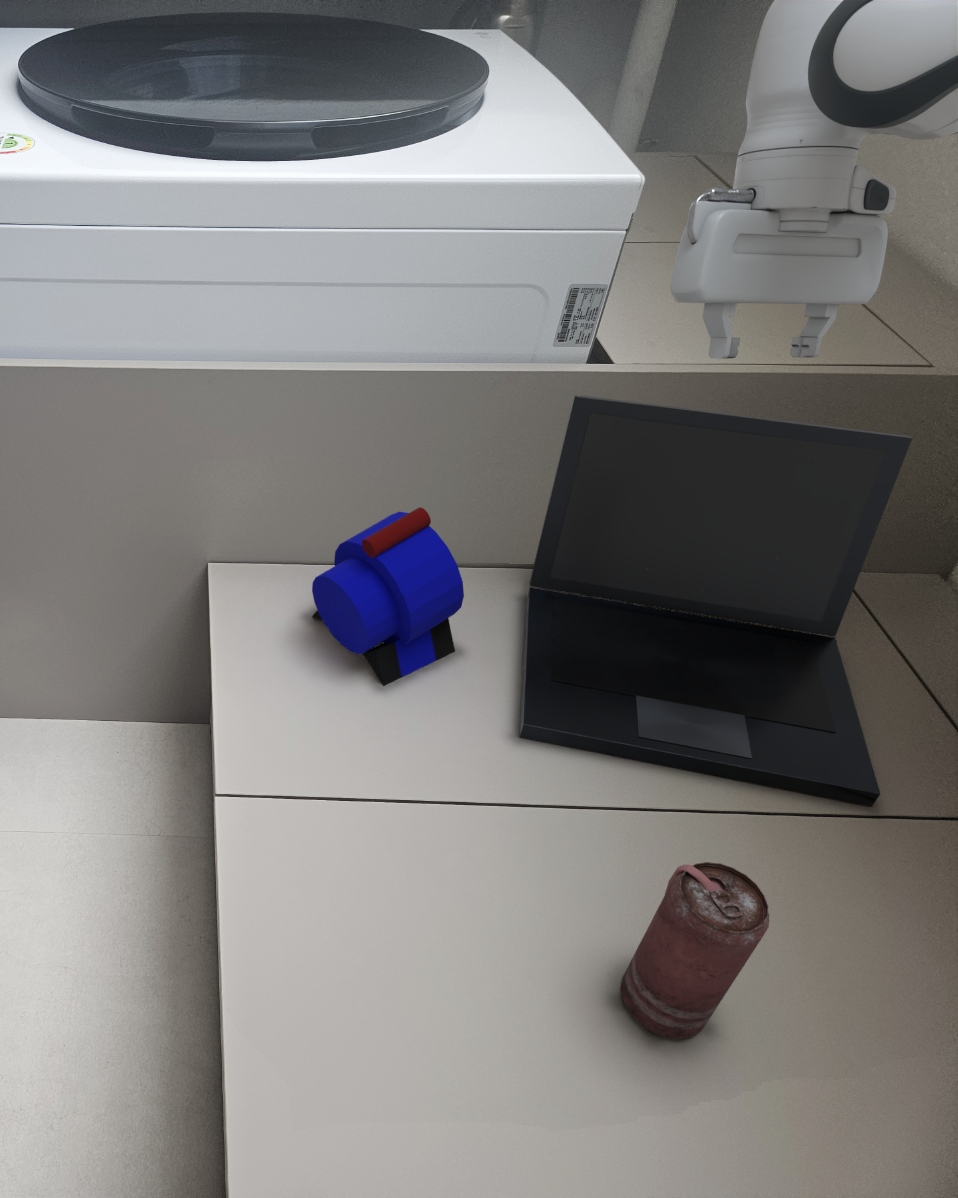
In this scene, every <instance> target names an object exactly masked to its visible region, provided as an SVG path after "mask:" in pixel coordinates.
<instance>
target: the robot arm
mask: <svg viewBox="0 0 958 1198" xmlns="http://www.w3.org/2000/svg"><path fill="white" fill-rule="evenodd" d="M745 109H746V116H747V123H746V124H747V125H746V131H745V135H744V138H743V141H742V143H741V145H740V147H739V149H738V153H737V159H736V164H735V165H736V166H735V172H734V179H733V185H732V188H723V187H709V188H707V189H706V190H705V191H704V192H703V193H701V194H700V195H698V197H696V199H694V201H693V202H692V203H691V204H690V206H689V209H688V214H687V222H686V225H685V227H684V229H683V232H682V234H681V238H680V241H679V244H678V249H677V252H676V256H675V260H674V264H673V268H672V273H671V279H670V284H669V285H670V286H669V290H670V293H671V296H672V297H673V299H674V301H675V303H681V304H683V303H684V304H703V311H702V319H703V322H704V325H705V328H706V331H707V334H708V336H709V339H710V341H709V348H708V357H710V359H718V360H719V359H720V360H721V359H724V360H725V359H726V360H727V359H728V360H729V359H735V358H737V357H738V354H739V349H738V348H739V346H740V341H741V337H734V334H733V330H732V329H733V328H732V326H731V320H730V318H734V317H735V316H736V311H737V304H772V305H774V304H775V305H776V304H778V305H779V304H780V305H784V304H786V305H796V304H797V305H799V304H800V305H805V310H804V315H803V316H804V318H807V320H806V323H805V324H804V326H803V327H802V330H801V332H800V333H799V336H792V337H791V338H792V339H791V347H790V350H789V354H790V356H791V357H792V358H805V359H806V358H808V359H809V358H813V359H815V358H817V357H818V356H819V355H820V351H821V346H822V340H823V338H824V337H825V335H826V334H827V332H828V331H829V329H830V328H831V327H832V325H833V324H834V322H835V321H836V319H837V317H838V310H839V305H866V304H868V302H869V301H870V300H871V299H872V297H873V296H874V295H875V294H876V292H877V291H878V288H879V286H880V282H881V278H882V273H883V268H884V263H885V258H886V251H887V246H888V245H887V244H888V240H889V239H888V236H889V229H888V224H887V222H886V220H885V218H884V217H882V216H881V215H888V214H890V213H891V212H892V211H893V210H894V209H895V204H896V199H897V191H896V188H894V186H892V185H890V184H889V183H887V182H885V181H883V180H882V179H881V178H878V177H877V176H875V175H874V174H872V173H871V172H870V171H868V170H867V169H866V168H865V167H863V166H862V165H860V164H857V163H858V155H859V149H860V145H861V142H862V141H863V139H865V138H866V137H868V136H871V135H879V134H881V135H883V134H884V135H889V136H890V135H891V136H897V137H900V138H903V139H907V140H908V139H909V140H918V141H920V140H921V141H924V140H925V141H926V140H934V139H940V138H944V137H948V136H952V135H953V136H954V135H955V134H958V0H773V2H772V3H771V5H770V7H769V8H768V10H767V12H766V14H765V17H764V18H763V21H762V24H761V27H760V31H759V34H758V37H757V42H756V45H755V50H754V54H753V57H752V64H751V68H750V73H749V78H748V85H747V91H746V97H745Z"/></svg>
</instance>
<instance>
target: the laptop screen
mask: <svg viewBox="0 0 958 1198" xmlns="http://www.w3.org/2000/svg"><path fill="white" fill-rule="evenodd" d="M574 395H575V396H574ZM574 395H573V398H574V399H572V402H573V403H571V406H570V411H569V415H568V420H567V422H566V423H567V424H566V429H565V432H564V437H563V441H562V446H561V449H560V453H559V457H558V462H557V466H556V470H555V474H554V478H553V483H552V487H551V490H550V495H549V500H548V504H547V506H546V507H547V508H546V512H545V516H544V520H543V525H542V529H541V533H540V537H539V541H538V545H537V550H536V553H535V558H534V563H533V568H532V571H531V575H530V579H529V587H532V588H538V589H544V590H550V591H556V592H562V593H568V594H574V595H580V596H586V597H592V598H598V599H604V600H611V601H617V602H623V603H629V604H635V605H641V606H647V607H653V608H659V609H665V610H671V611H677V612H683V613H689V614H695V615H701V616H707V617H713V618H719V619H725V620H731V621H738V622H744V623H750V624H756V625H762V626H768V627H774V628H780V629H786V630H792V631H798V632H804V633H810V634H816V635H822V636H828V637H834V638H836V636H837V633H838V631H839V628H840V626H841V623H842V620H843V617H844V615H845V613H846V611H847V608H848V606H849V602H850V600H851V597H852V595H853V593H854V589H855V587H856V584H857V582H858V579H859V577H860V574H861V571H862V569H863V566H864V563H865V561H866V559H867V556H868V553H869V551H870V548H871V545H872V543H873V541H874V538H875V535H876V533H877V530H878V528H879V525H880V523H881V520H882V517H883V516H884V513H885V510H886V508H887V505H888V502H889V499H890V497H891V495H892V492H893V489H894V487H895V485H896V481H897V479H898V477H899V474H900V471H901V469H902V466H903V464H904V461H905V459H906V457H907V453H908V451H909V448H910V446H911V444H912V441H913V437H912V436H910V435H904V434H896V433H889V432H880V431H874V430H873V431H872V430H865V429H864V430H863V429H856V428H847V427H839V426H832V425H824V424H817V423H808V422H799V421H791V420H783V419H782V420H781V419H776V418H768V417H767V418H766V417H761V416H751V415H743V414H734V413H726V412H719V411H710V410H703V409H702V410H701V409H694V408H685V407H677V406H672V405H671V406H670V405H662V404H654V403H645V402H638V401H630V400H622V399H612V398H605V397H597V396H590V395H589V396H588V395H581V396H577V395H578V394H574Z"/></svg>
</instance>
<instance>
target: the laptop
mask: <svg viewBox="0 0 958 1198" xmlns="http://www.w3.org/2000/svg"><path fill="white" fill-rule="evenodd" d="M524 616H525V617H524V636H523V640H524V641H523V658H522V678H521V699H520V700H521V701H520V719H519V721H520V722H519V723H520V724H519V738H522V739H526V740H530V741H531V740H532V741H537V742H541V743H546V744H547V743H548V744H553V745H557V746H562V747H568V748H572V749H577V750H583V751H588V752H592V753H598V754H602V755H608V756H613V757H618V758H623V759H628V760H633V761H639V762H643V763H648V764H652V765H658V766H663V767H667V768H668V767H669V768H674V769H679V770H684V771H689V772H693V773H699V774H704V775H709V776H714V777H719V778H723V779H724V778H725V779H729V780H735V781H739V782H745V783H750V784H754V785H759V786H765V787H769V788H775V789H779V790H784V791H785V790H786V791H790V792H796V793H800V794H805V795H810V796H815V797H820V798H825V799H829V800H830V799H831V800H836V801H841V802H845V803H850V804H856V805H861V806H866V807H873V806H874V804H876V801H877V800H878V799H879V797H880V795H881V790H880V787H879V784H878V780H877V777H876V774H875V770H874V767H873V762H872V760H871V756H870V753H869V749H868V746H867V743H866V738H865V735H864V732H863V728H862V724H861V721H860V719H859V718H860V717H859V714H858V712H857V708H856V704H855V701H854V697H853V695H852V691H851V687H850V684H849V683H850V682H849V680H848V675H847V672H846V669H845V667H844V662H843V659H842V656H841V651H840V649H839V646H838V642H837V639H836V637H834V636H828V635H822V634H816V633H810V632H803V631H797V630H791V629H785V628H779V627H773V626H767V625H761V624H755V623H749V622H743V621H737V620H731V619H725V618H719V617H713V616H707V615H701V614H694V613H688V612H682V611H676V610H670V609H664V608H658V607H652V606H646V605H640V604H634V603H628V602H622V601H616V600H610V599H604V598H598V597H592V596H586V595H579V594H573V593H567V592H561V591H555V590H549V589H543V588H537V587H531V586H529V587H528V591H527V595H526V599H525V615H524Z"/></svg>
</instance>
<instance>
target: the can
mask: <svg viewBox="0 0 958 1198" xmlns="http://www.w3.org/2000/svg"><path fill="white" fill-rule="evenodd" d="M769 927H770V912H769V904H768V902H767V898H766V896H765V894H764V893H763V891H762V890H761V888H760V887H759V885H758V884H757V883H756V882H754V881H753V880H752V879H751V878H750V877H749V876H748V875H747V874H744V873H743V872H741V871H740V870H738V869H736V868H734V867H732V866H729V865H726V864H723V863H721V862H720V863H719V862H710V861H704V862H697V863H694V864H682V865H679V866H677V868H676V869H675V870H674V872H673V874H672V875H671V877H670V878H669V879H668V882H667V886H666V889H665V892H664V895H663V898H662V900H661V902H660V904H659V906H658V907H657V910H656V911H655V914H654V915H653V917H652V920H651V921H650V923H649V925H648V927H647V929H646V931H645V932H644V935H643V936H642V939H641V940H640V942H639V944H638V945H637V948H636V950H635V952H634V954H633V956H632V958H631V960H630V962H629V964H628V966H627V968H626V969H625V971H624V974H623V975H622V977H621V983H620V992H621V996H622V1001H623V1002H624V1004H625V1006H626V1008H627V1010H628V1012H629V1013H630V1015H631V1016H632V1017H633V1018H634V1019H635V1020H636V1021H637V1022H638V1023H639V1025H641V1026H642V1027H644V1028H645V1029H647V1030H648V1031H650V1032H651V1033H654V1034H656V1035H659V1036H661V1037H663V1038H671V1039H678V1040H681V1039H686V1038H692V1037H695V1036H696V1035H697V1034H699V1033H700V1032H702V1031H703V1030H704V1028H705V1026H706V1025H707V1023H708V1022H709V1021H710V1019H711V1017H712V1016H713V1014H714V1013H715V1011H716V1010H717V1008H718V1006H719V1005H720V1003H721V1002H722V1001H723V999H724V998H725V996H726V994H727V993H728V991H729V990H730V988H731V986H732V985H733V983H734V982H735V980H736V979H737V977H738V976H739V974H740V973H741V971H742V969H743V968H744V966H746V963H747V962H748V960H749V959H750V957H751V955H752V954H753V953H754V951H755V950H756V948H757V946H758V945H759V943H760V942H761V940H762V939H763V938H764V936H765V934H766V932H767V931H768V929H769Z"/></svg>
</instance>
